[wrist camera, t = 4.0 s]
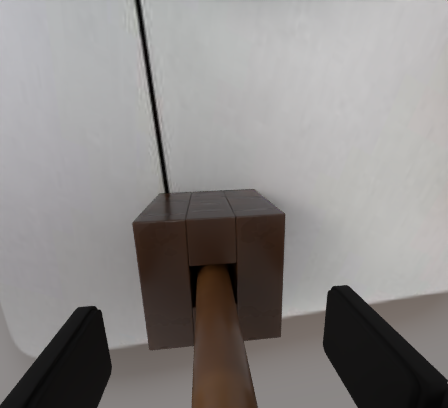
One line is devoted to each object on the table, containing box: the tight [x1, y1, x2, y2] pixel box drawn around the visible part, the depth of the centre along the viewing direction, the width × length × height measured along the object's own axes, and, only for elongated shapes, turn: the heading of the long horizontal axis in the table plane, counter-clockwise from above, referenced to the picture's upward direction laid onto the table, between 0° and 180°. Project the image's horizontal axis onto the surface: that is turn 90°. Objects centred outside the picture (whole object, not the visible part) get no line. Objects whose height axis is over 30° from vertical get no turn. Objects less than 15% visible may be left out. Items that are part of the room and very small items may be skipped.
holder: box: [132, 189, 285, 350], centre depth 15 cm, size 7×7×7 cm
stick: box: [192, 264, 258, 408], centre depth 12 cm, size 2×2×14 cm
